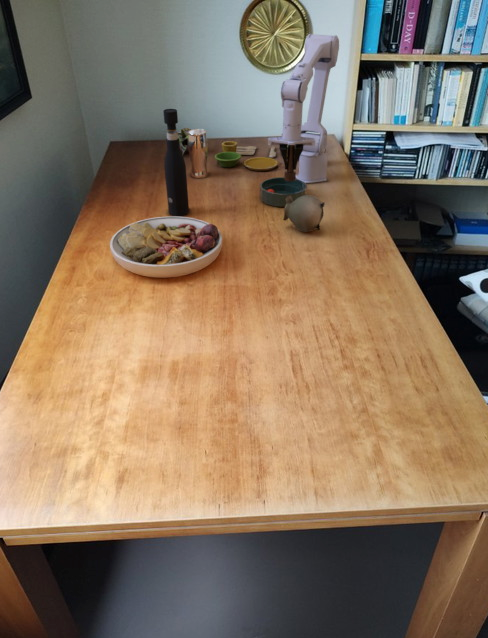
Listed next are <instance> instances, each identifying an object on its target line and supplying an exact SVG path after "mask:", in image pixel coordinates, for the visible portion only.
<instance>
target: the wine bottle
mask: <svg viewBox="0 0 488 638" xmlns="http://www.w3.org/2000/svg"><path fill="white" fill-rule="evenodd" d="M163 123H164V124H165V125H166V128H167V129H166V130H167V131H166V139H165V140H166V152H165V157H164V165H163V166H164V168H163V169H164V176H165V177H164V178H165V187H166V188H165V189H166V199H167V206H168V214H169V215H170V216H179V217H185V216H187V215H188V214H189V213H190V207H189V206H190V204H189V191H188V178H187V165H186V161H185V158H184V154H183V155H182V149H181V147H180V144H179V138H178V131H177V124H178V123H179V118H178V109H176V108H166V109H163Z"/></svg>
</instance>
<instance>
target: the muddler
mask: <svg viewBox="0 0 488 638" xmlns="http://www.w3.org/2000/svg"><path fill="white" fill-rule="evenodd" d="M294 155H295V145H288V155H287V170H285V171H284V176H283V177H284V180H285V181H295V179H297V178H296V175H297V172H296V170H294Z"/></svg>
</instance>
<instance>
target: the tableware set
mask: <svg viewBox="0 0 488 638" xmlns="http://www.w3.org/2000/svg"><path fill="white" fill-rule="evenodd" d="M282 136H283V132H282V133H281V137H282ZM221 147H222V152H221V151H220V152H217V153H216V154H215V155H214V159H215V160H216V161H217V163H218V165H219V166H220V167H222V168H234V167H236V166H237V165H238V163H239V161H240V160H241V159H242V156H255V153H256V150H257V149H258V148H257V146H254V145H249V146H238V142H237V141H234V140H226V141H223V142H222V143H221ZM326 152H327V148H326V149H325V151H324V153H325V154H326ZM276 155H277V151H276V147H275V146H271V147H270V152H269V155H268V157H266V156H265V157H264V156H257V157H251V158H248V159H245V160H244V161H243V165H244V166H245V167H246V168H247V169H248V170H251V171H255V172H266V171H271V170H273V169H275V168H276V167H277V166H278V165H279V162H278V160H277V159H274V158H276ZM287 155H288V145H287ZM294 158H295V155H294ZM299 158H300V157H299Z"/></svg>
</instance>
